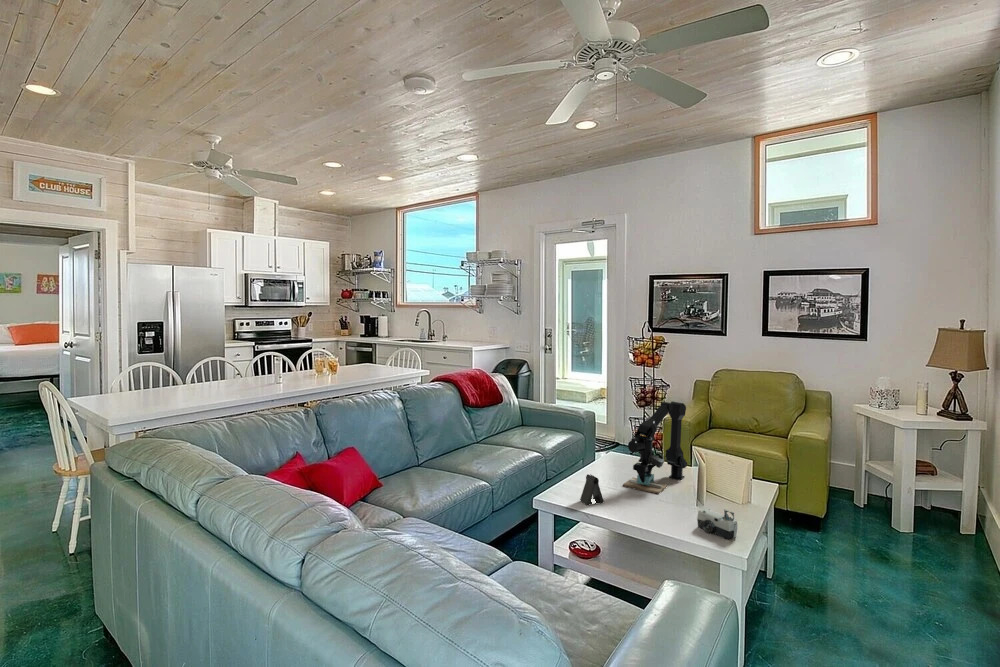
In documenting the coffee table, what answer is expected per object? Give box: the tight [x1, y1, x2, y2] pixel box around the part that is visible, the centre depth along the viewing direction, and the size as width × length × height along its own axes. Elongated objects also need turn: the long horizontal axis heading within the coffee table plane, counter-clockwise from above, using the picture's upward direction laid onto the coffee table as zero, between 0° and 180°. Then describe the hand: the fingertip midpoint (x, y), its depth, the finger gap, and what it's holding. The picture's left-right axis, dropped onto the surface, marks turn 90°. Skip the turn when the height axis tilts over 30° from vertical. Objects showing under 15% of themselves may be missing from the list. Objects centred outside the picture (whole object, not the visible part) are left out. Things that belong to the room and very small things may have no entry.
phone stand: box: [579, 473, 605, 506], centre depth 232 cm, size 9×6×12 cm, turn 112°
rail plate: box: [622, 477, 669, 495], centre depth 253 cm, size 13×18×2 cm
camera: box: [696, 508, 738, 541], centre depth 201 cm, size 15×8×10 cm, turn 31°
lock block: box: [636, 473, 655, 486], centre depth 253 cm, size 6×6×4 cm
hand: (645, 480), depth 253 cm, fingers closed on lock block, 6 cm apart
